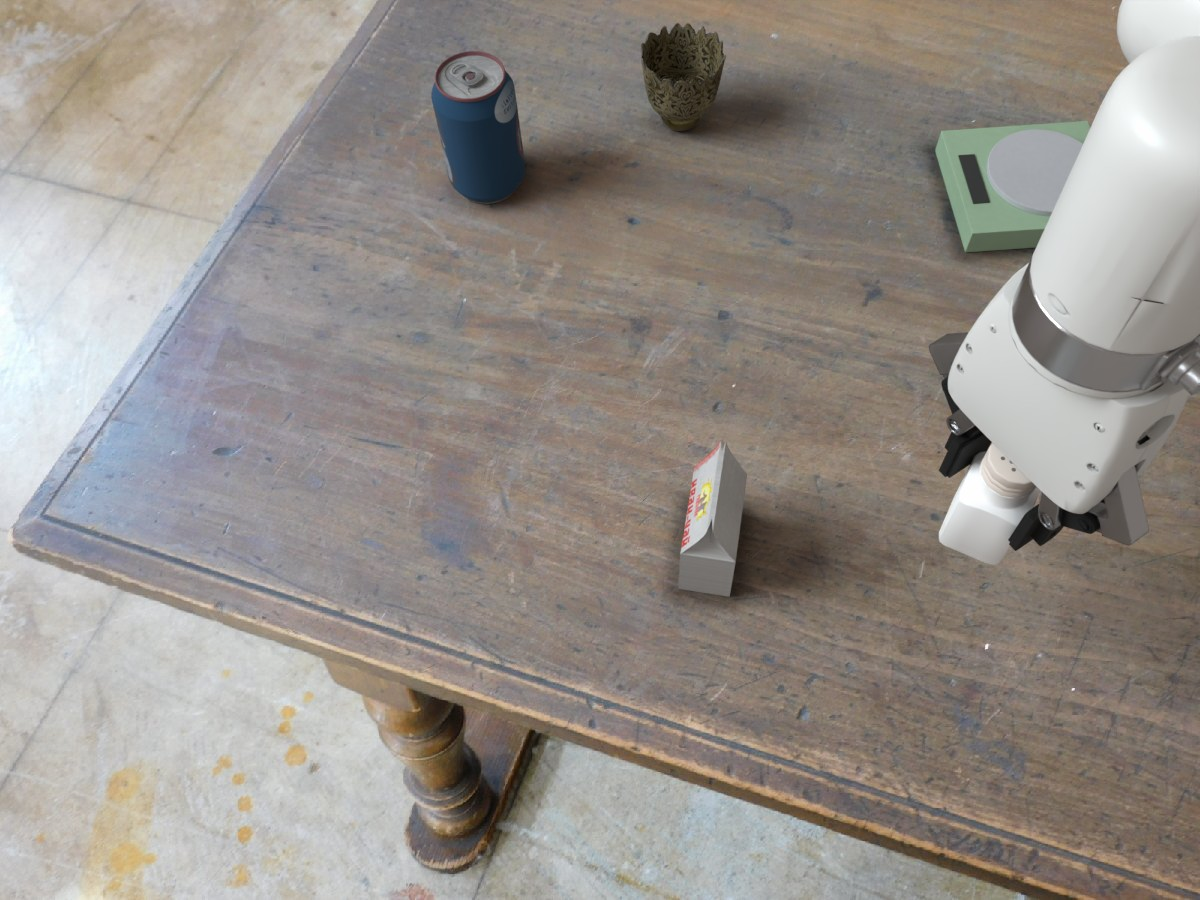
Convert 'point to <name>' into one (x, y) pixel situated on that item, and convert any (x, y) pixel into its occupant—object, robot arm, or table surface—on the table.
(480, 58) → the soda can
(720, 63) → the cup
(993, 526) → the pepper shaker
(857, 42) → the table surface
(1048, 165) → the kitchen scale
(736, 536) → the grey upright carton
